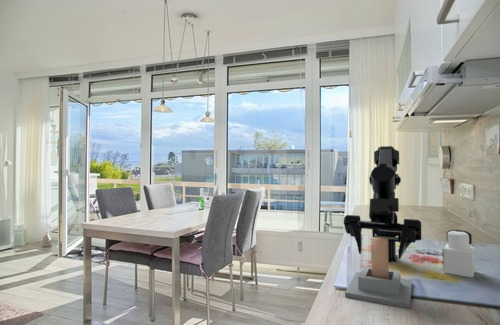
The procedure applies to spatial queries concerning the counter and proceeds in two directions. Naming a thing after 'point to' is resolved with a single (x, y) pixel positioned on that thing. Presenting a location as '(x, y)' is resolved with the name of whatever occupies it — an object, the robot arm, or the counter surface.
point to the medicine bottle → (459, 254)
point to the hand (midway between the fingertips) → (379, 255)
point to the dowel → (379, 257)
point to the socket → (380, 288)
